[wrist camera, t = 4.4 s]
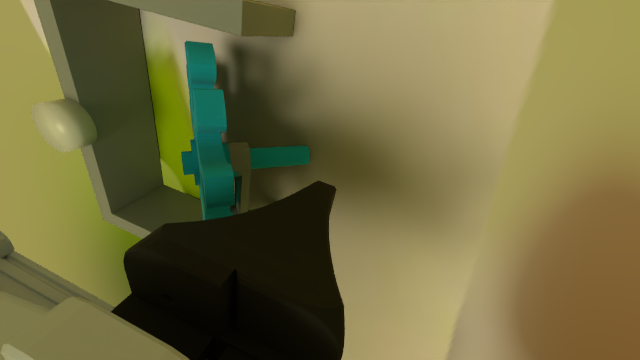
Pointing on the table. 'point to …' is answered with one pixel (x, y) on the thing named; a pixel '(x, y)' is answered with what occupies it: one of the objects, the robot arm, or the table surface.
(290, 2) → the table surface
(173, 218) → the housing
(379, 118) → the table surface
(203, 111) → the gear
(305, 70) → the table surface
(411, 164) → the table surface
